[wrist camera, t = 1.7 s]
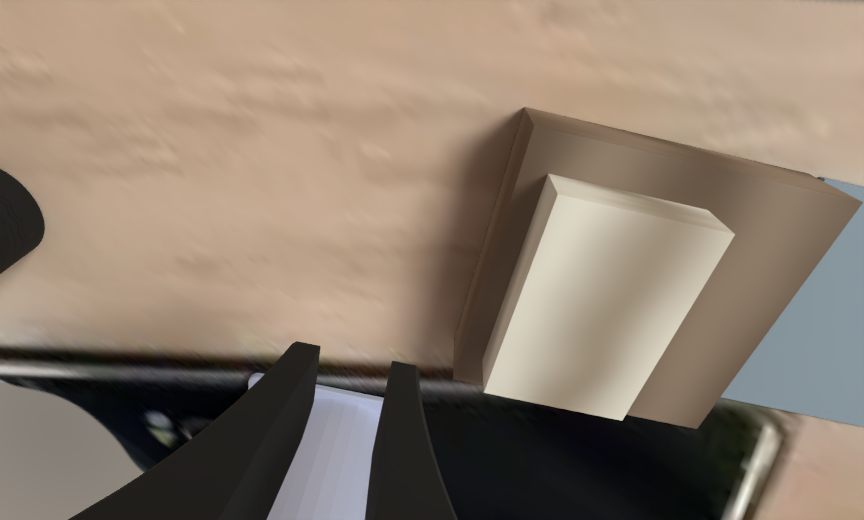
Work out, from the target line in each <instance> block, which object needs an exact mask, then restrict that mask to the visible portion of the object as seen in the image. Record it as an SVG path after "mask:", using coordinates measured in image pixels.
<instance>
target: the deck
mask: <svg viewBox="0 0 864 520" xmlns="http://www.w3.org/2000/svg"><path fill="white" fill-rule="evenodd" d="M548 174H553V175H557V176H561V177H566V178H570V179H575V180H579V181H583V182H588V183H592V184H596V185H601V186H605V187H610V188H614V189H618V190H623V191H627V192H631V193H636V194H640V195H645V196H649V197H653V198H658V199H662V200H667V201H671V202H675V203H680V204H684V205H688V206H693V207H697V208H702V209H706V210H708V211H709V212H711V213H712V214H713V215H714V216H715V217H716V218H717V219H718V220H720V221H721V222H722V223H723V224H724V225H725V226H726V227H727V228H729V229H730V230H731V231H732V232H733V233H734V234H735V236H734V237H733V239H732V241H731V242H730V244H729V246H728V247H727V249H726V251H725V252H724V254H723V256H722V257H721V259H720V260H719V262H718V264H717V265H716V267H715V269H714V270H713V272H712V274H711V275H710V277H709V279H708V280H707V282H706V284H705V285H704V287H703V288H702V290H701V292H700V293H699V295H698V297H697V298H696V300H695V302H694V303H693V305H692V307H691V308H690V310H689V312H688V313H687V315H686V316H685V318H684V320H683V321H682V323H681V325H680V326H679V328H678V330H677V331H676V333H675V335H674V336H673V338H672V339H671V341H670V343H669V344H668V346H667V348H666V349H665V351H664V353H663V354H662V356H661V358H660V359H659V361H658V363H657V364H656V366H655V367H654V369H653V371H652V372H651V374H650V376H649V377H648V379H647V381H646V382H645V384H644V386H643V387H642V389H641V391H640V392H639V394H638V395H637V397H636V399H635V400H634V402H633V404H632V405H631V407H630V409H629V410H628V412H627V414H626V415H631V416H636V417H641V418H646V419H651V420H656V421H660V422H665V423H670V424H675V425H680V426H685V427H690V428H695V429H697V428H698V427H699V425H700V424H701V423H702V421H703V420H704V419H705V417H706V416H707V414H708V413H709V412H710V410H711V409H712V408H713V406H714V405H715V404H716V402H717V401H718V399H719V398H720V397H721V395H722V394H723V393H724V391H725V390H726V389H727V387H728V386H729V385H730V383H731V382H732V380H733V379H734V378H735V376H736V375H737V374H738V372H739V371H740V370H741V368H742V367H743V365H744V364H745V363H746V361H747V360H748V359H749V357H750V356H751V355H752V353H753V352H754V350H755V349H756V348H757V346H758V345H759V344H760V342H761V341H762V340H763V338H764V337H765V335H766V334H767V333H768V331H769V330H770V329H771V327H772V326H773V325H774V323H775V322H776V321H777V319H778V318H779V316H780V315H781V314H782V312H783V311H784V310H785V308H786V307H787V306H788V304H789V303H790V301H791V300H792V299H793V297H794V296H795V295H796V293H797V292H798V291H799V289H800V288H801V286H802V285H803V284H804V282H805V281H806V280H807V278H808V277H809V276H810V274H811V273H812V271H813V270H814V269H815V267H816V266H817V265H818V263H819V262H820V261H821V259H822V258H823V257H824V255H825V254H826V252H827V251H828V250H829V248H830V247H831V246H832V244H833V243H834V242H835V240H836V239H837V237H838V236H839V235H840V233H841V232H842V231H843V229H844V228H845V227H846V225H847V224H848V222H849V221H850V220H851V218H852V217H853V216H854V214H855V213H856V212H857V210H858V209H859V207H860V206H861V205H862V203H863V202H862V201H860V200H858V199H856V198H854V197H852V196H850V195H848V194H846V193H844V192H842V191H841V190H839V189H837V188H835V187H833V186H831V185H829V184H827V183H825V182H823V181H821V180H820V179H818V178H816V177H814V176H812V175H810V174H807V173H803V172H799V171H794V170H790V169H786V168H781V167H777V166H773V165H769V164H764V163H760V162H756V161H752V160H747V159H743V158H739V157H735V156H730V155H726V154H722V153H718V152H713V151H709V150H705V149H701V148H696V147H692V146H688V145H684V144H679V143H675V142H671V141H667V140H662V139H658V138H654V137H650V136H645V135H641V134H637V133H633V132H628V131H624V130H620V129H616V128H611V127H607V126H603V125H599V124H594V123H590V122H586V121H582V120H577V119H573V118H569V117H565V116H560V115H556V114H552V113H548V112H543V111H539V110H535V109H531V108H526V107H525V108H524V111H523V114H522V117H521V121H520V124H519V127H518V131H517V134H516V137H515V141H514V144H513V147H512V150H511V154H510V157H509V160H508V164H507V167H506V170H505V173H504V177H503V180H502V183H501V187H500V190H499V193H498V196H497V200H496V203H495V206H494V210H493V213H492V216H491V219H490V223H489V226H488V229H487V233H486V236H485V239H484V242H483V246H482V249H481V252H480V256H479V259H478V262H477V265H476V269H475V272H474V275H473V279H472V282H471V285H470V289H469V292H468V295H467V298H466V302H465V305H464V308H463V312H462V315H461V318H460V321H459V325H458V328H457V331H456V335H455V338H454V366H453V379H454V380H459V381H463V382H468V383H473V384H478V385H483V365H482V359H483V356H484V354H485V351H486V348H487V345H488V342H489V340H490V337H491V334H492V331H493V328H494V325H495V323H496V320H497V317H498V314H499V311H500V308H501V306H502V303H503V300H504V297H505V294H506V291H507V289H508V286H509V283H510V280H511V277H512V274H513V272H514V269H515V266H516V263H517V260H518V258H519V255H520V252H521V249H522V246H523V243H524V241H525V238H526V235H527V232H528V229H529V226H530V224H531V221H532V218H533V215H534V212H535V209H536V207H537V204H538V201H539V198H540V195H541V192H542V190H543V187H544V184H545V181H546V178H547V175H548Z"/></svg>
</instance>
